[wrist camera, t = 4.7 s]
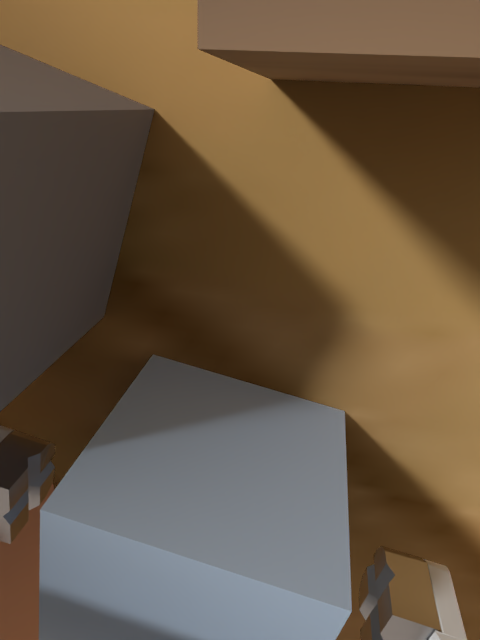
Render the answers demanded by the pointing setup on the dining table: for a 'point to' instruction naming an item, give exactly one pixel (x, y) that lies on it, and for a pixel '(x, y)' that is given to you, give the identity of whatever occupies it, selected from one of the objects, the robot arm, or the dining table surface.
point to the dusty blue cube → (200, 517)
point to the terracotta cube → (21, 581)
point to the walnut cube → (347, 39)
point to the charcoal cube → (59, 209)
